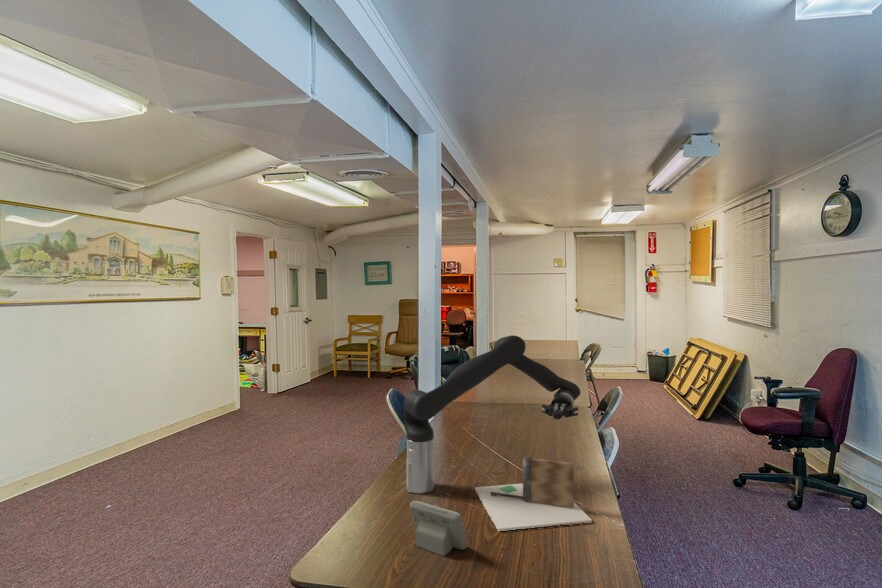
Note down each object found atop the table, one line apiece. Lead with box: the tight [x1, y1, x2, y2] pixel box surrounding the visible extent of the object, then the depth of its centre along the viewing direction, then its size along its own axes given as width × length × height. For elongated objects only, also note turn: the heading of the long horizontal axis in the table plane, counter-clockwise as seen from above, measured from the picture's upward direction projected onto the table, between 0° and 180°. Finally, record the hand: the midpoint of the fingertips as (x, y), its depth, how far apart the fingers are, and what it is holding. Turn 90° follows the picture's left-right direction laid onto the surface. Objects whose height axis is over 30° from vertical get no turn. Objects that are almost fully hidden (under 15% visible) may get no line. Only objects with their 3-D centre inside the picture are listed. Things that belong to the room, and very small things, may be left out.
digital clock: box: [409, 500, 468, 557], centre depth 126 cm, size 16×9×11 cm, turn 46°
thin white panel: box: [474, 483, 593, 532], centre depth 148 cm, size 28×28×1 cm
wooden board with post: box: [491, 456, 575, 507], centre depth 148 cm, size 26×3×13 cm, turn 70°
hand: (556, 416), depth 155 cm, fingers closed
